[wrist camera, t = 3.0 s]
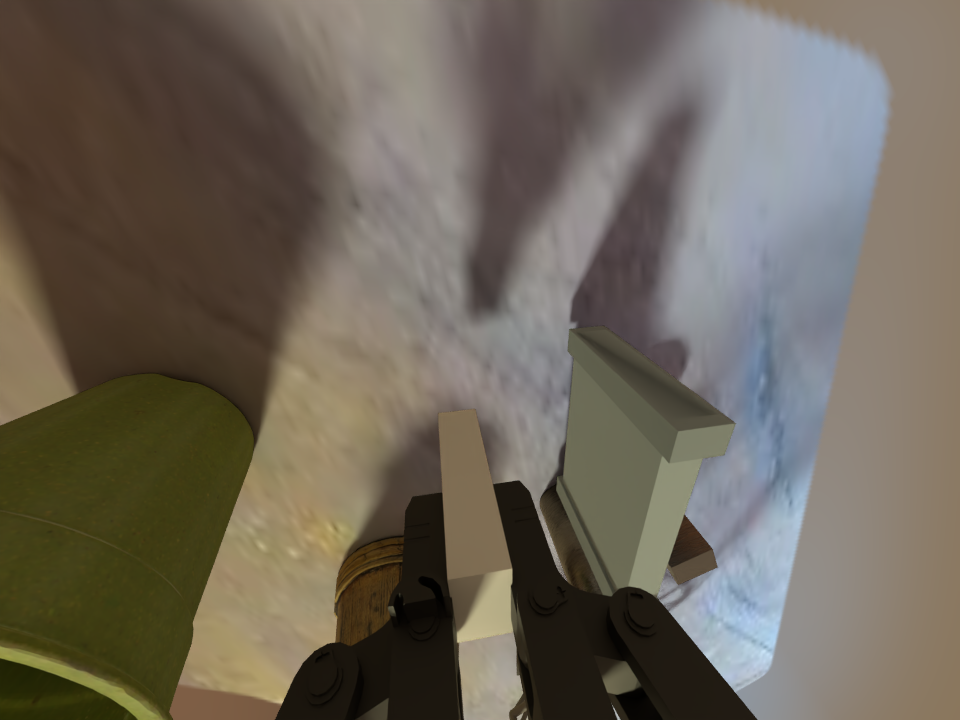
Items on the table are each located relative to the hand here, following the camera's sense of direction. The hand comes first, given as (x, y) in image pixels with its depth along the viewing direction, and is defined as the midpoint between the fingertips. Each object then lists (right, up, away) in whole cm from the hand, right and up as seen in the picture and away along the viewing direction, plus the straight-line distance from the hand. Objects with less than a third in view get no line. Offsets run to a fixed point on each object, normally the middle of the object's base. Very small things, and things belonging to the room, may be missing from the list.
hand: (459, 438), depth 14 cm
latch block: (+12, -6, +10) cm, 16 cm away
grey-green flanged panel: (+6, 0, +5) cm, 8 cm away
